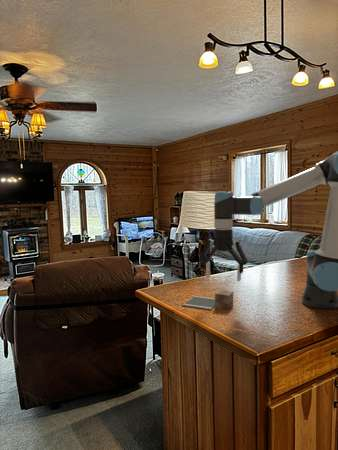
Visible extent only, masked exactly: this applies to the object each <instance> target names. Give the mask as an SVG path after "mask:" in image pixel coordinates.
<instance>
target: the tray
mask: <svg viewBox="0 0 338 450" xmlns="http://www.w3.org/2000/svg"><path fill="white" fill-rule="evenodd" d="M182 307H186V308H187V307H188V308H193V309H199V310H205V311H212V310H213V309H215V297H214V298H213V297H205V296H197V295H194V296H193V297H192V298H190V299H189V300H187V301H186V302H185V303H182Z"/></svg>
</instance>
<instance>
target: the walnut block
mask: <svg viewBox="0 0 338 450" xmlns="http://www.w3.org/2000/svg"><path fill="white" fill-rule="evenodd" d="M214 299H215V307H214V309H216V308H219V309H221V310H222V309H227V310H226V311H229V310H230V309H231V308H233V307H234V291H231V290H218V291H217V292H215V294H214Z"/></svg>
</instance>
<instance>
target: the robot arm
mask: <svg viewBox="0 0 338 450" xmlns="http://www.w3.org/2000/svg"><path fill="white" fill-rule="evenodd" d="M319 185H324V186H326V185H328V186H330V191H329V194H328V195H329V196H328V200H327V201H328V202H327V206H326V207H327V208H326V214H325V219H324V223H323V224H324V225H323V229H322V234H321V235H322V236H321V239H320V246H319V248H318V249H316V250H310V251H309V250H308V251H307V253H306V257H305V258H306V259H305V260H306V274H305V275H306V276H305V278H306V281H305V282H306V283H305V287H304V290H303V293H302V296H301V304H303V305H304V306H307V307H310V308H313V309H317V310H318V309H320V310H333V309H334V310H335V309H338V151H336V152H334V153H333V154H331V155H330V156H328V157H326V158H324V159H322V160H321V161H319V162H316V163H315V164H314V166H312V167H311V168H309V169H307V170H304V171H302V172H299V173H298V174H295V175H293V176H291V177H288V178H286V179H283V180H282V181H279V182H277V183H275V184H272V185H270V186H268V187H265V188H263V189H260V190H259V191H256V192H253V193H251V194H248V195H246V196H244V195H242V196H241V195H240V196H239V195H238V196H235V195H234V193H233V191H216V192H215V193H214V202H213V204H214V207H213V209H214V210H213V211H214V213H213V214H214V216H213V217H214V225H213V226H214V227H213V228H214V231H213V232H214V239H210V238H209V239H207V240H206V246H205V247H204V250H203V251H202V253H201V255H200V258H199V260H200V261H201V262H203V269H204V270H205V277H206V279H208V278H210V277H211V261H210V260H211V258H212V257H213V256H214V255H215V254H216V253H217V251H219V252H228V253H229V254H230V255H231V256H232V257H233V259H234V260H235V262H236V263H237V266H236V267H237V268H236V269H237V271H236V272H237V274H236V276H237V277H236V280H237V282H240V281H241V280H242V274H243V273H244V265H245V266H246V265H247V264H248V263H249V261H248V259H247V256H246V255H245V253H244V250H243V248H242V246H241V241H240V240H236V241H234V240H233V237H234V236H233V233H234V232H233V229H232V228H233V225H234V223H233V220H234V219H233V218H234V217H233V215H235V216H236V215H237V216H238V215H242V216H243V215H245V216H247V215H248V216H249V215H250V216H258V215H262V214H263V212H264V210H263V209H264V208H266V207H269V206H270V205H271V206H272V205H273V204H275V203H276V204H277V203H278V202H280V201H283V200H285V199H287V198H290V197H293V196H295V195H297V194H301V193H302V192H306V191H308V190H310V189H312V188H315V187H317V186H319ZM212 245H214V247H213V249H212V250H211V251H210V252H209V250H210V248H211V246H212ZM233 246H234V247H236V250H237V252H238V254H237V253H236V251H235V249H234V248H233ZM208 252H209V254H208ZM207 254H208V255H207Z"/></svg>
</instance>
